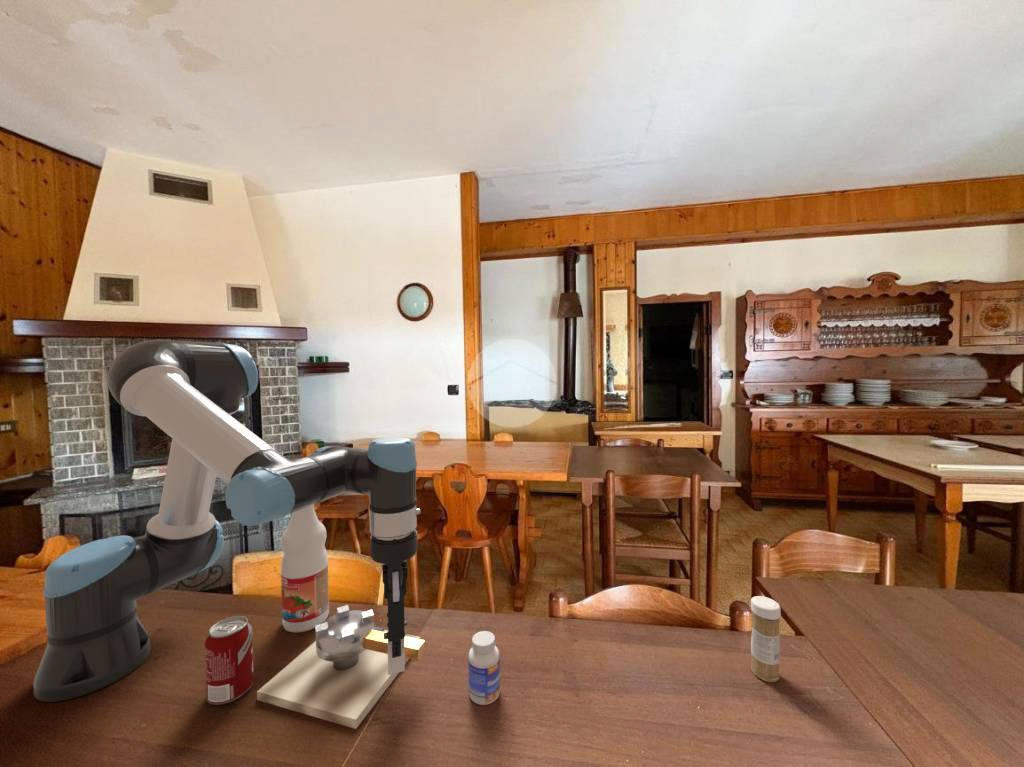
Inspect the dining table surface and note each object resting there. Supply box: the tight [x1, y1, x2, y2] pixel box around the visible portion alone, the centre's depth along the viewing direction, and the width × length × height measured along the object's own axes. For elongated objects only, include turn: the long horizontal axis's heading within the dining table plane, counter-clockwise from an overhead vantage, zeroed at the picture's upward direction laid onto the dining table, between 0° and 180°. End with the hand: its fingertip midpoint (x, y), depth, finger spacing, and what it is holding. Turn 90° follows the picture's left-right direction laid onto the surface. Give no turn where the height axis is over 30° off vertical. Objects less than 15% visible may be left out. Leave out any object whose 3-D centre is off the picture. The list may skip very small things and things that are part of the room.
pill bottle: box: [467, 630, 501, 706], centre depth 68 cm, size 5×5×10 cm
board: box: [256, 625, 421, 730], centre depth 74 cm, size 20×20×5 cm
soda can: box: [204, 615, 255, 706], centre depth 69 cm, size 7×7×12 cm
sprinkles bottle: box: [750, 595, 782, 683], centre depth 72 cm, size 5×5×13 cm
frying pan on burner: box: [314, 604, 426, 662], centre depth 72 cm, size 21×10×4 cm, turn 74°
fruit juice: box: [280, 504, 330, 633], centre depth 89 cm, size 9×9×28 cm
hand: (396, 669), depth 66 cm, fingers closed
